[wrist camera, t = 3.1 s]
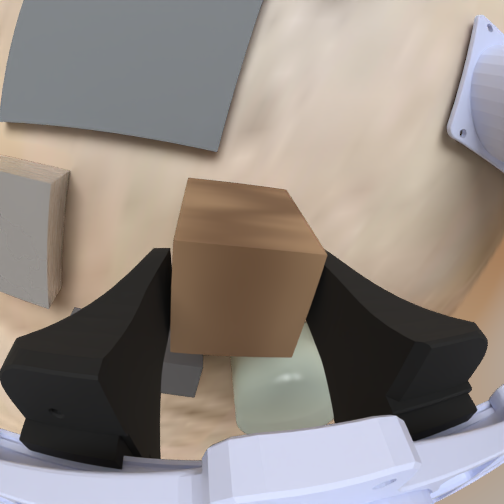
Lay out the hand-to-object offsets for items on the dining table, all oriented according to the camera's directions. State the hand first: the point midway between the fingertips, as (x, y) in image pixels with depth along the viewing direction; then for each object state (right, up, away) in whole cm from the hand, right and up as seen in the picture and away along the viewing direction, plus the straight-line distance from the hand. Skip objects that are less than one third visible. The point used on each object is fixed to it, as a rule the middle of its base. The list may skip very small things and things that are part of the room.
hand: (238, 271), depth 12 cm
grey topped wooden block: (-12, +2, +2) cm, 12 cm away
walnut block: (-1, +2, +3) cm, 4 cm away
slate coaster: (-5, +11, -2) cm, 12 cm away
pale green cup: (+2, -6, +8) cm, 10 cm away
